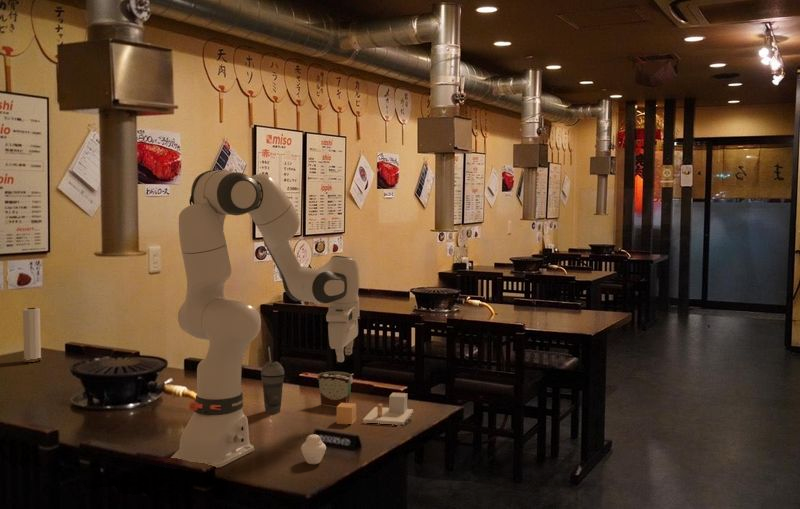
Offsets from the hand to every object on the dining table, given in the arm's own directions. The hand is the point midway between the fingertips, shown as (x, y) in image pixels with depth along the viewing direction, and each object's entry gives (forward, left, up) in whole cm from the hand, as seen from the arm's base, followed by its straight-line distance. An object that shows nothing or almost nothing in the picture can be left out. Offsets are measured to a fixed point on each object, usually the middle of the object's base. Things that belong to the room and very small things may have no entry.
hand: (344, 358), depth 220 cm
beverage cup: (+4, +24, -19) cm, 31 cm away
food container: (+17, +7, -19) cm, 27 cm away
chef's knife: (-4, -16, -19) cm, 25 cm away
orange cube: (-1, -1, -19) cm, 19 cm away
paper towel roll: (+48, +144, -19) cm, 153 cm away
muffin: (-36, -3, -19) cm, 41 cm away
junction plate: (+6, -12, -19) cm, 23 cm away
